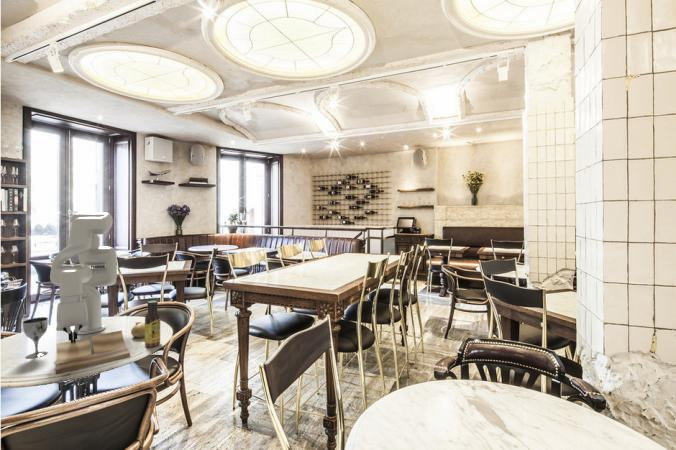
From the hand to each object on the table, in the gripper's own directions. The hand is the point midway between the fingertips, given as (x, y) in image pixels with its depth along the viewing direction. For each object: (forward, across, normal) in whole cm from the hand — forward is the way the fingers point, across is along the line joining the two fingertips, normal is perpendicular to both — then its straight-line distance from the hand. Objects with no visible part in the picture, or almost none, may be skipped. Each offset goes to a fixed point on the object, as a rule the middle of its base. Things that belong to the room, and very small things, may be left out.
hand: (73, 341), depth 144 cm
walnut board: (+6, -6, +13) cm, 15 cm away
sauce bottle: (+6, -28, +10) cm, 30 cm away
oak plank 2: (+3, -12, +3) cm, 13 cm away
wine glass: (+6, +12, -10) cm, 16 cm away
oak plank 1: (+3, 0, +3) cm, 4 cm away
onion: (+6, -26, -6) cm, 27 cm away
